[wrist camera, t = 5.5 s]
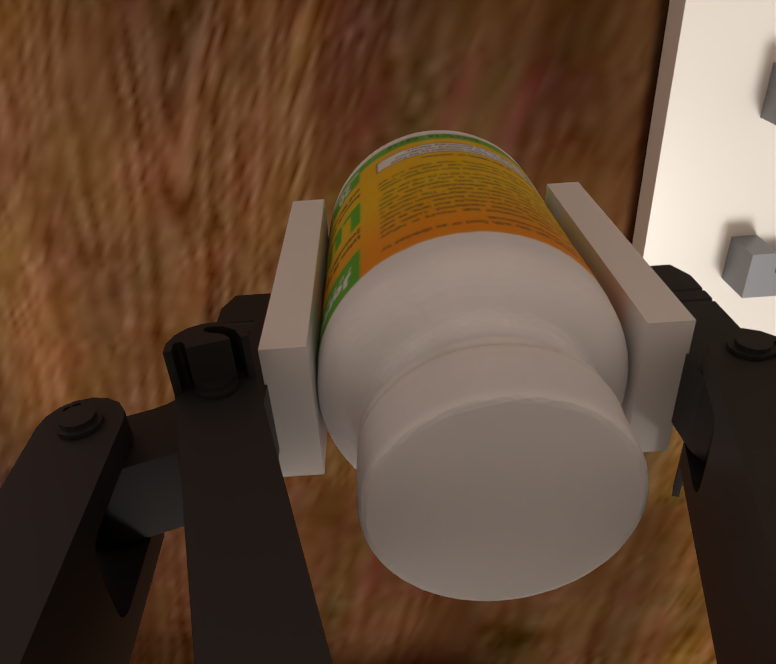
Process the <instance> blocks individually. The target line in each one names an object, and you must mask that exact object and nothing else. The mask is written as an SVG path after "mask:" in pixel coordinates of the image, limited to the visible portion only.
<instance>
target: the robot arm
mask: <svg viewBox="0 0 776 664" xmlns="http://www.w3.org/2000/svg"><path fill="white" fill-rule="evenodd" d="M545 204H546V205H547V207H548V209H549V210H550V212H551V213H552V215H553V216H554V217H555V219H556V221H557V222H558V224H559V225H560V227H561V228H562V230H563V231H564V233H565V234H566V236H567V237H568V238H569V240H570V241H571V243H572V244H573V246H574V247H575V249H576V250H577V252H578V253H579V254H580V256H581V257H582V259H583V260H584V262H585V263H586V265H587V266H588V267H589V268H590V270H591V271H592V273H593V274H594V276H595V277H596V279H597V281H598V282H599V284H600V286H601V287H602V289H603V290H604V292H605V294H606V295H607V297H608V299H609V301H610V303H611V305H612V306H613V308H614V310H615V312H616V314H617V317H618V319H619V321H620V323H621V326H622V329H623V332H624V336H625V340H626V345H627V351H628V380H627V385H626V390H625V395H624V399H623V402H622V405H621V406H622V409H623V412H624V414H625V417H626V419H627V421H628V423H629V425H630V427H631V429H632V431H633V433H634V435H635V437H636V439H637V441H638V443H639V445H640V447H641V450H642V452H652V451H667V449H668V445H669V440H670V436H671V431H672V427H673V425H674V427H675V428H676V430H677V431H678V433H679V434H680V436H681V438H682V439H683V441H684V443H683V448H682V452H681V456H680V460H679V464H678V469H677V473H676V477H675V481H674V485H673V492H672V496H678V497H679V493H680V489H681V487H682V486H683V485H684V490H685V496H686V501H687V506H688V511H689V517H690V522H691V527H692V533H693V538H694V543H695V549H696V554H697V559H698V564H699V570H700V575H701V580H702V586H703V591H704V596H705V602H706V607H707V612H708V617H709V623H710V628H711V633H712V639H713V644H714V649H715V655H716V660H717V664H776V336H774V335H771V334H768V333H765V332H762V331H758V330H752V329H746V328H740V327H739V326H738V325H737V324H736V323H735V321H734V320H733V319H732V318H731V317H730V316H729V315H728V314H727V313H726V312H725V311H724V310H723V309H722V308H721V307H720V306H719V305H718V304H717V303H716V301H712V297H711V296H710V295H709V294H708V293H707V292H706V291H705V290H702V287H701V286H700V285H699V284H698V283H697V281H696V280H695V279H694V278H693V277H692V276H691V275H689V274H687V273H685V272H684V271H682V270H680V269H678V268H676V267H674V266H672V265H655V266H650V265H649V264H648V263H647V262H646V261H645V260H644V258H643V257H642V256H641V255H640V254H639V253H638V251H637V250H636V249H635V248H634V247H633V246H632V244H631V243H630V242H629V241H628V240H627V239H626V237H625V236H624V235H623V234H622V233H621V232H620V230H619V229H618V228H617V227H616V226H615V225H614V223H613V222H612V221H611V220H610V219H609V218H608V216H607V215H606V214H605V213H604V212H603V211H602V209H601V208H600V207H599V206H598V205H597V204H596V202H595V201H594V200H593V199H592V198H591V197H590V195H589V194H588V193H587V192H586V191H585V190H584V188H583V187H582V186H581V185H580V184H579V183H578V182H569V183H554V184H547V188H546V202H545ZM328 248H329V237H328V228H327V219H326V210H325V201H324V199H319V200H304V201H293V203H292V208H291V212H290V216H289V220H288V225H287V229H286V233H285V237H284V242H283V246H282V250H281V254H280V259H279V263H278V267H277V271H276V275H275V280H274V284H273V288H272V292H271V293H270V294H256V295H241V296H235V297H234V298H233V299H232V300H231V301H230V302H229V303H228V304H226V305H225V306H224V307H223V308H222V309H221V312H220V315H219V318H218V321H217V322H215V323H205V324H201V325H197V326H194V327H191V328H187V329H185V330H184V331H182V332H180V333H178V334H176V335H174V336H173V337H172V338H171V339H170V340H169V341H168V342H167V343H166V345H165V348H164V351H163V355H164V359H165V362H166V366H167V369H168V373H169V376H170V380H171V383H172V387H173V390H174V394H175V400H174V401H172V402H170V403H168V404H166V405H164V406H161V407H158V408H155V409H152V410H148V411H145V412H141V413H137V414H134V415H130V416H126V413H125V411H124V409H123V407H122V406H121V405H120V403H119V402H116V401H114V400H111V399H109V398H89V399H84V400H78V401H75V402H72V403H70V404H67V405H65V406H62V407H60V408H59V409H57V410H56V411H54V412H53V413H51V414H50V415H48V416H47V417H45V419H44V420H43V421H42V422H41V423H40V424H39V425H38V427H37V428H36V429H35V431H34V433H33V434H32V436H31V438H30V439H29V441H28V443H27V445H26V446H25V448H24V450H23V451H22V453H21V455H20V456H19V458H18V460H17V461H16V463H15V465H14V467H13V468H12V470H11V472H10V473H9V475H8V477H7V478H6V480H5V482H4V483H3V485H2V487H1V489H0V664H129V661H130V658H131V654H132V650H133V647H134V643H135V640H136V636H137V632H138V629H139V625H140V621H141V618H142V614H143V611H144V607H145V603H146V600H147V596H148V592H149V589H150V585H151V582H152V578H153V574H154V571H155V567H156V563H157V560H158V556H159V553H160V549H161V545H162V542H163V538H164V532H167V531H170V530H173V529H176V528H179V527H182V526H185V540H186V553H187V567H188V581H189V595H190V608H191V622H192V636H193V649H194V663H195V664H332V660H331V657H330V653H329V649H328V645H327V642H326V638H325V634H324V630H323V626H322V623H321V619H320V615H319V611H318V607H317V604H316V600H315V596H314V592H313V588H312V585H311V581H310V577H309V573H308V569H307V566H306V562H305V558H304V554H303V550H302V547H301V543H300V539H299V535H298V531H297V528H296V524H295V520H294V516H293V512H292V509H291V505H290V501H289V497H288V493H287V490H286V486H285V482H284V478H283V477H289V476H303V475H318V474H325V460H326V443H327V427H326V425H325V422H324V420H323V417H322V413H321V409H320V404H319V399H318V388H317V362H318V353H319V344H320V333H321V322H322V312H323V302H324V292H325V282H326V270H327V258H328ZM278 458H279V459H278ZM279 462H280V463H279Z"/></svg>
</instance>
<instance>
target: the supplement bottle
mask: <svg viewBox="0 0 776 664" xmlns="http://www.w3.org/2000/svg"><path fill="white" fill-rule="evenodd" d="M627 380H628V351H627V345H626V340H625V336H624V332H623V329H622V326H621V323H620V321H619V319H618V317H617V314H616V312H615V310H614V308H613V306H612V305H611V303H610V301H609V299H608V297H607V295H606V294H605V292H604V290H603V289H602V287H601V286H600V284H599V282H598V281H597V279H596V277H595V276H594V274H593V273H592V271H591V270H590V268H589V267H588V266H587V265H586V263H585V262H584V260H583V259H582V257H581V256H580V254H579V253H578V252H577V250H576V249H575V247H574V246H573V244H572V243H571V241H570V240H569V238H568V237H567V236H566V234H565V233H564V231H563V230H562V228H561V227H560V225H559V224H558V222H557V221H556V219H555V217H554V216H553V215H552V213H551V212H550V210H549V209H548V207H547V205H546V204H545V202H544V201H543V199H542V198H541V196H540V195H539V193H538V192H537V190H536V189H535V187H534V185H533V184H532V182H531V181H530V179H529V178H528V177H527V175H526V174H525V173H524V171H523V170H522V169H521V168H520V166H519V165H518V164H517V163H516V162H515V161H514V160H513V159H512V158H511V157H510V156H509V155H508V154H507V153H506V152H504V151H503V150H502V149H500V148H499V147H497V146H496V145H494V144H492V143H490V142H488V141H487V140H484V139H482V138H479V137H477V136H474V135H470V134H467V133H462V132H457V131H448V130H433V131H423V132H418V133H413V134H410V135H406V136H404V137H401V138H398V139H396V140H394V141H392V142H390V143H388V144H386V145H384V146H382V147H381V148H379V149H377V150H376V151H374V152H373V153H372V154H370V155H369V156H368V157H367V158H366V159H365V160H363V161H362V162H361V163H360V164H359V165H358V167H357V168H356V169H355V170H354V171H353V172H352V174H351V175H350V176H349V178H348V179H347V181H346V182H345V184H344V186H343V188H342V190H341V192H340V194H339V196H338V199H337V201H336V204H335V207H334V211H333V215H332V220H331V226H330V234H329V248H328V258H327V270H326V282H325V292H324V302H323V312H322V322H321V333H320V344H319V353H318V362H317V388H318V399H319V404H320V409H321V413H322V417H323V420H324V422H325V425H326V427H327V430H328V432H329V434H330V436H331V438H332V440H333V441H334V443H335V445H336V446H337V448H338V449H339V451H340V452H341V453H342V454H343V456H344V457H345V458H346V459H347V460H348V461H349V463H350V464H351V465H352V466H353V467H354V468H355V469H356V470H357V501H358V516H359V520H360V525H361V529H362V532H363V535H364V537H365V540H366V542H367V543H368V545H369V547H370V548H371V550H372V551H373V553H374V554H375V555H376V557H377V558H378V559H379V561H380V562H381V563H382V564H383V565H384V566H385V567H387V568H388V569H389V570H390V571H391V572H393V573H394V574H395V575H397V576H398V577H400V578H401V579H403V580H404V581H406V582H408V583H410V584H412V585H414V586H416V587H418V588H420V589H423V590H426V591H428V592H431V593H435V594H438V595H441V596H446V597H450V598H456V599H462V600H475V601H500V600H509V599H517V598H523V597H528V596H532V595H536V594H540V593H543V592H547V591H550V590H553V589H556V588H558V587H561V586H563V585H566V584H568V583H571V582H573V581H575V580H577V579H579V578H581V577H583V576H585V575H586V574H588V573H590V572H591V571H593V570H594V569H596V568H597V567H598V566H600V565H601V564H603V563H604V562H605V561H607V560H608V559H609V558H610V557H612V556H613V555H614V554H615V553H616V552H617V551H618V550H619V549H620V548H621V547H622V545H623V544H624V543H625V542H626V541H627V539H628V538H629V537H630V536H631V534H632V533H633V532H634V530H635V528H636V527H637V525H638V523H639V521H640V519H641V517H642V514H643V512H644V509H645V507H646V502H647V497H648V491H649V476H648V469H647V464H646V459H645V457H644V455H643V452H642V450H641V447H640V445H639V443H638V441H637V439H636V437H635V435H634V433H633V431H632V429H631V427H630V425H629V423H628V421H627V419H626V417H625V414H624V412H623V409H622V406H621V405H622V402H623V399H624V395H625V390H626V385H627Z"/></svg>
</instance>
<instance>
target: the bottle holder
mask: <svg viewBox="0 0 776 664" xmlns="http://www.w3.org/2000/svg"><path fill="white" fill-rule="evenodd" d="M632 246H633V247H634V248H635V249H636V250H637V251H638V253H639V254H640V255H641V256H642V257H643V258H644V260H645V261H646V262H647V263H648V264H649V265H650V266H655V265H672V266H674V267H676V268H678V269H680V270H682V271H684V272H685V273H687V274H689V275H691V276H692V277H693V278H694V279H695V280H696V281H697V283H698V284H699V285H700V286H701V287H702V290H705V291H706V292H707V293H708V294H709V295H710V296H711V297H712V301H716V303H717V304H718V305H719V306H720V307H721V308H722V309H723V310H724V311H725V312H726V313H727V314H728V315H729V316H730V317H731V318H732V319H733V320H734V321H735V323H736V324H737V325H738V326H739V327H740V328H746V329H752V330H758V331H762V332H765V333H768V334H771V335H774V336H776V0H670V2H669V9H668V15H667V22H666V28H665V35H664V41H663V48H662V54H661V61H660V67H659V74H658V80H657V86H656V93H655V99H654V106H653V112H652V119H651V125H650V132H649V138H648V145H647V151H646V158H645V164H644V171H643V177H642V184H641V190H640V196H639V203H638V209H637V216H636V222H635V229H634V235H633V242H632Z"/></svg>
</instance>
